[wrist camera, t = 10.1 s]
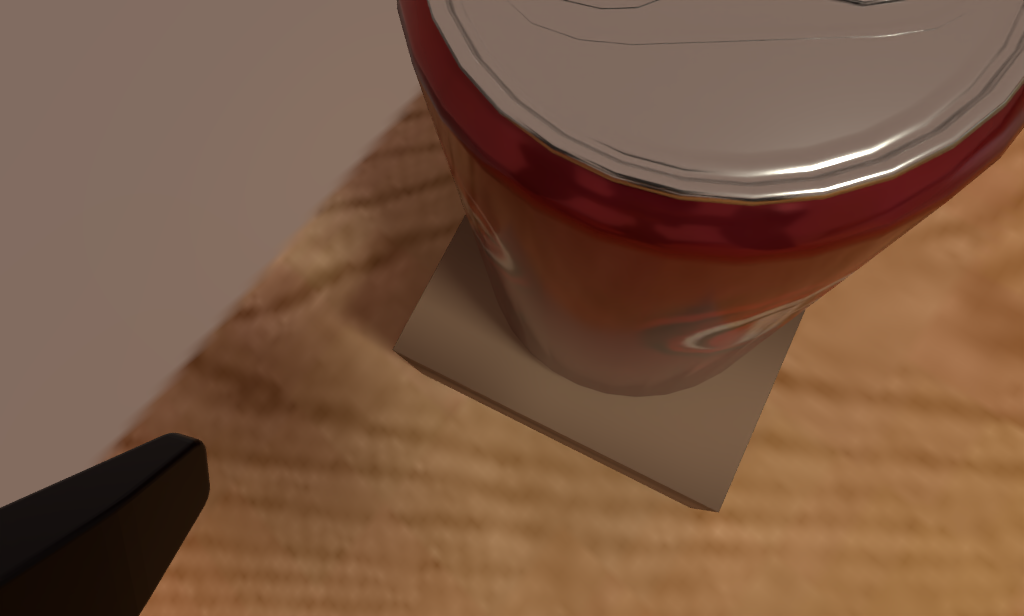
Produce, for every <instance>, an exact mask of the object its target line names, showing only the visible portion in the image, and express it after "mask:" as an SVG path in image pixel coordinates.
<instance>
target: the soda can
mask: <svg viewBox="0 0 1024 616" xmlns="http://www.w3.org/2000/svg"><path fill="white" fill-rule="evenodd" d="M397 9H398V13H399V16H400V21H401V24H402V28H403V31H404V35H405V39H406V42H407V46H408V49H409V53H410V57H411V61H412V64H413V67H414V70H415V72H416V75H417V78H418V81H419V84H420V86H421V89H422V92H423V95H424V98H425V100H426V103H427V106H428V109H429V112H430V114H431V117H432V120H433V123H434V126H435V128H436V131H437V134H438V137H439V140H440V142H441V145H442V148H443V151H444V154H445V156H446V159H447V162H448V165H449V168H450V170H451V173H452V176H453V179H454V182H455V184H456V187H457V190H458V193H459V196H460V198H461V201H462V204H463V207H464V209H465V212H466V215H467V218H468V221H469V223H470V226H471V229H472V232H473V235H474V237H475V240H476V243H477V246H478V249H479V251H480V254H481V257H482V260H483V263H484V265H485V268H486V271H487V274H488V277H489V279H490V282H491V285H492V288H493V291H494V293H495V296H496V299H497V302H498V305H499V307H500V309H501V311H502V312H503V314H504V316H505V318H506V320H507V322H508V324H509V326H510V328H511V330H512V331H513V332H514V334H515V335H516V336H517V337H518V339H519V340H520V341H521V342H522V343H523V345H524V346H525V347H526V348H527V350H528V351H529V352H530V353H531V354H532V355H534V356H535V357H536V358H537V359H538V360H540V361H541V362H542V363H543V364H544V365H546V366H547V367H548V368H549V369H550V370H552V371H553V372H555V373H557V374H559V375H561V376H563V377H564V378H566V379H568V380H570V381H572V382H574V383H575V384H577V385H580V386H583V387H586V388H590V389H593V390H596V391H599V392H602V393H605V394H613V395H622V396H631V397H644V396H656V395H667V394H670V393H674V392H677V391H681V390H684V389H688V388H691V387H695V386H697V385H699V384H701V383H703V382H704V381H706V380H708V379H710V378H712V377H714V376H716V375H718V374H720V373H722V372H723V371H724V370H726V369H727V368H728V367H730V366H731V365H732V364H734V363H735V362H736V361H737V360H739V359H740V358H741V357H743V356H744V355H745V354H747V353H748V352H749V351H751V350H752V349H753V348H755V347H756V346H757V345H759V344H760V343H761V342H763V341H764V340H765V339H767V338H768V337H769V336H770V335H772V334H773V333H774V332H776V331H777V330H778V329H780V328H781V327H782V326H784V325H785V324H786V323H788V322H789V321H790V320H792V319H793V318H794V317H796V316H797V315H798V314H800V313H801V312H802V311H803V310H805V309H806V308H807V307H809V306H810V305H811V304H813V303H814V302H815V301H817V300H818V299H819V298H821V297H822V296H823V295H825V294H826V293H827V292H829V291H830V290H831V289H833V288H834V287H835V286H836V285H838V284H839V283H840V282H842V281H843V280H844V279H846V278H847V277H848V276H850V275H851V274H852V273H854V272H855V271H856V270H858V269H859V268H860V267H862V266H863V265H864V264H866V263H867V262H868V261H869V260H871V259H872V258H873V257H875V256H876V255H877V254H879V253H880V252H881V251H883V250H884V249H885V248H887V247H888V246H889V245H891V244H892V243H893V242H895V241H896V240H897V239H899V238H900V237H901V236H902V235H904V234H905V233H906V232H908V231H909V230H910V229H912V228H913V227H914V226H916V225H917V224H918V223H920V222H921V221H922V220H924V219H925V218H926V217H928V216H929V215H930V214H932V213H933V212H934V211H935V210H937V209H938V208H939V207H941V206H942V205H943V204H945V203H946V202H947V201H949V200H950V199H951V198H952V197H953V196H955V195H956V194H957V193H958V192H960V191H961V190H962V189H963V188H964V187H966V186H967V185H968V184H969V183H971V182H972V181H973V180H974V179H975V178H977V177H978V176H979V175H980V174H981V173H983V172H984V171H985V170H986V169H988V168H989V167H990V166H991V165H992V164H994V163H995V162H996V161H997V160H999V159H1000V158H1001V156H1002V155H1003V154H1004V152H1005V151H1006V150H1007V149H1008V147H1009V146H1010V145H1011V143H1012V142H1013V141H1014V140H1015V138H1016V137H1017V136H1018V134H1019V133H1020V132H1021V131H1022V129H1023V128H1024V0H397Z"/></svg>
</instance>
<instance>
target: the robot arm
mask: <svg viewBox="0 0 1024 616" xmlns="http://www.w3.org/2000/svg"><path fill="white" fill-rule="evenodd" d="M209 490H210V483H209V473H208V464H207V454H206V448H205V445H204V444H203V442H202V441H200V440H199V439H195V438H192V437H189V436H185V435H182V434H179V433H169V434H165V435H163V436H160V437H158V438H156V439H154V440H152V441H149V442H147V443H145V444H143V445H140V446H138V447H136V448H134V449H131V450H129V451H127V452H125V453H122V454H120V455H118V456H116V457H113V458H111V459H109V460H107V461H104V462H102V463H100V464H98V465H95V466H93V467H91V468H89V469H86V470H84V471H82V472H80V473H78V474H75V475H73V476H71V477H68V478H66V479H64V480H62V481H60V482H57V483H55V484H53V485H51V486H48V487H46V488H44V489H42V490H39V491H37V492H35V493H33V494H30V495H28V496H26V497H24V498H21V499H19V500H17V501H15V502H12V503H10V504H8V505H6V506H3V507H1V508H0V616H139V615H140V613H141V612H142V610H143V608H144V607H145V605H146V604H147V602H148V600H149V599H150V597H151V596H152V594H153V592H154V590H155V589H156V587H157V585H158V584H159V582H160V580H161V579H162V577H163V575H164V573H165V572H166V570H167V568H168V567H169V565H170V563H171V562H172V560H173V558H174V557H175V555H176V553H177V551H178V550H179V548H180V546H181V545H182V543H183V541H184V540H185V538H186V536H187V535H188V533H189V531H190V529H191V528H192V526H193V524H194V523H195V521H196V519H197V518H198V516H199V514H200V513H201V511H202V509H203V507H204V506H205V504H206V501H207V499H208V495H209Z"/></svg>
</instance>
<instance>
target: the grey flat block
mask: <svg viewBox="0 0 1024 616" xmlns="http://www.w3.org/2000/svg"><path fill="white" fill-rule="evenodd" d="M804 312H805V310H803V311H802V312H801V313H800V314H798V315H797V316H796V317H794V318H793V319H792V320H790V321H789V322H788V323H786V324H785V325H784V326H782V327H781V328H780V329H778V330H777V331H776V332H774V333H773V334H772V335H770V336H769V337H768V338H767V339H765V340H764V341H763V342H761V343H760V344H759V345H757V346H756V347H755V348H753V349H752V350H751V351H749V352H748V353H747V354H745V355H744V356H743V357H741V358H740V359H739V360H737V361H736V362H735V363H734V364H732V365H731V366H730V367H728V368H727V369H726V370H724V371H723V372H722V373H720V374H718V375H716V376H714V377H712V378H710V379H708V380H706V381H704V382H703V383H701V384H699V385H697V386H695V387H691V388H688V389H684V390H681V391H677V392H674V393H670V394H667V395H656V396H644V397H631V396H622V395H613V394H605V393H602V392H599V391H596V390H593V389H590V388H586V387H583V386H580V385H577V384H575V383H574V382H572V381H570V380H568V379H566V378H564V377H563V376H561V375H559V374H557V373H555V372H553V371H552V370H550V369H549V368H548V367H547V366H546V365H544V364H543V363H542V362H541V361H540V360H538V359H537V358H536V357H535V356H534V355H532V354H531V353H530V352H529V351H528V350H527V348H526V347H525V346H524V345H523V343H522V342H521V341H520V340H519V339H518V337H517V336H516V335H515V334H514V332H513V331H512V330H511V328H510V326H509V324H508V322H507V320H506V318H505V316H504V314H503V312H502V311H501V309H500V307H499V305H498V302H497V299H496V296H495V293H494V291H493V288H492V285H491V282H490V279H489V277H488V274H487V271H486V268H485V265H484V263H483V260H482V257H481V254H480V251H479V249H478V246H477V243H476V240H475V237H474V235H473V232H472V229H471V226H470V223H469V221H468V218H467V215H465V217H464V218H463V220H462V222H461V224H460V226H459V228H458V230H457V231H456V233H455V235H454V237H453V239H452V241H451V242H450V244H449V246H448V248H447V250H446V252H445V254H444V255H443V257H442V259H441V261H440V263H439V265H438V267H437V268H436V270H435V272H434V274H433V276H432V278H431V280H430V281H429V283H428V285H427V287H426V289H425V291H424V292H423V294H422V296H421V298H420V300H419V302H418V304H417V305H416V307H415V309H414V311H413V313H412V315H411V317H410V318H409V320H408V322H407V324H406V326H405V328H404V330H403V331H402V333H401V335H400V337H399V339H398V341H397V342H396V344H395V346H394V348H393V350H394V351H395V352H396V353H397V354H399V355H400V356H401V357H402V358H404V359H405V360H406V361H407V362H409V363H410V364H411V365H412V366H414V367H415V368H416V369H417V370H419V371H420V372H421V373H422V374H424V375H426V376H428V377H430V378H432V379H434V380H436V381H438V382H440V383H442V384H444V385H446V386H448V387H450V388H452V389H454V390H456V391H458V392H460V393H462V394H464V395H466V396H468V397H470V398H472V399H474V400H476V401H478V402H480V403H482V404H484V405H486V406H488V407H490V408H492V409H494V410H496V411H498V412H500V413H502V414H504V415H506V416H508V417H510V418H512V419H514V420H516V421H518V422H520V423H522V424H524V425H526V426H528V427H530V428H532V429H534V430H536V431H538V432H540V433H542V434H544V435H546V436H548V437H550V438H552V439H554V440H556V441H558V442H560V443H562V444H564V445H566V446H568V447H570V448H572V449H574V450H576V451H578V452H580V453H582V454H584V455H586V456H588V457H590V458H592V459H594V460H596V461H598V462H600V463H602V464H604V465H606V466H608V467H610V468H612V469H614V470H616V471H618V472H620V473H622V474H624V475H626V476H628V477H630V478H632V479H634V480H636V481H638V482H640V483H642V484H644V485H646V486H648V487H650V488H652V489H654V490H656V491H658V492H660V493H662V494H664V495H666V496H668V497H670V498H672V499H674V500H676V501H678V502H680V503H682V504H684V505H686V506H688V507H690V508H694V509H701V510H707V511H714V512H719V511H720V508H721V506H722V504H723V501H724V499H725V496H726V494H727V492H728V489H729V487H730V485H731V482H732V480H733V478H734V475H735V473H736V471H737V468H738V466H739V464H740V461H741V459H742V457H743V454H744V452H745V450H746V447H747V445H748V443H749V440H750V438H751V436H752V433H753V431H754V429H755V426H756V424H757V422H758V419H759V417H760V415H761V412H762V410H763V408H764V405H765V403H766V400H767V398H768V396H769V393H770V391H771V389H772V386H773V384H774V382H775V379H776V377H777V375H778V372H779V370H780V368H781V365H782V363H783V361H784V358H785V356H786V354H787V351H788V349H789V347H790V344H791V342H792V340H793V337H794V335H795V333H796V330H797V328H798V326H799V323H800V321H801V319H802V316H803V314H804Z"/></svg>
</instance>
